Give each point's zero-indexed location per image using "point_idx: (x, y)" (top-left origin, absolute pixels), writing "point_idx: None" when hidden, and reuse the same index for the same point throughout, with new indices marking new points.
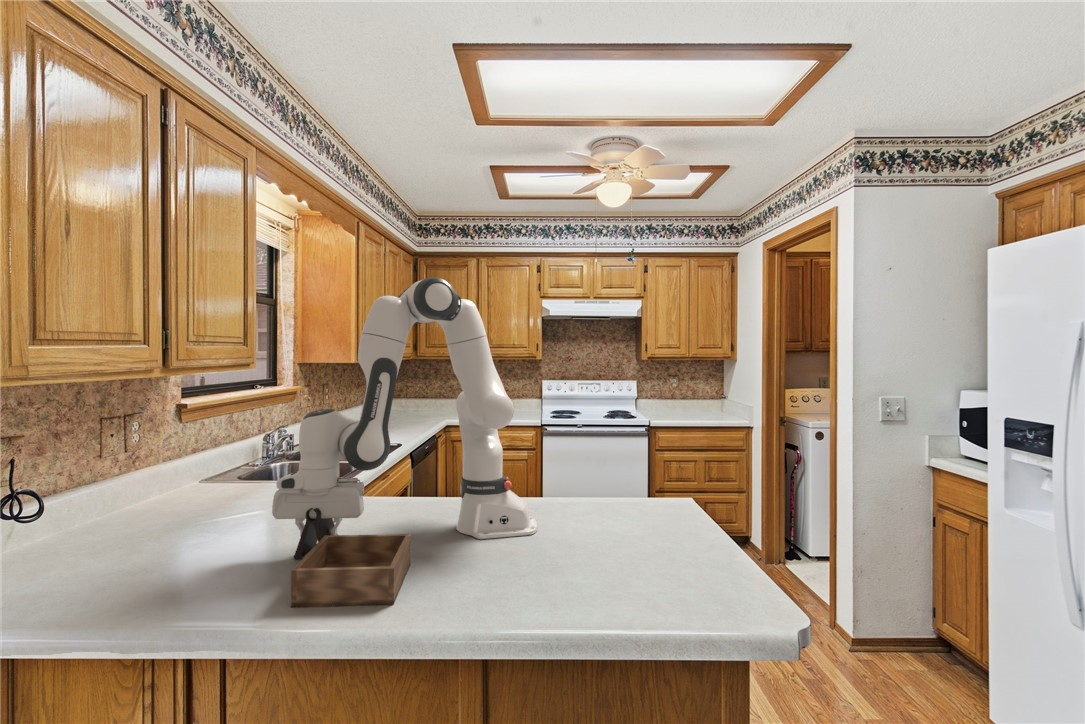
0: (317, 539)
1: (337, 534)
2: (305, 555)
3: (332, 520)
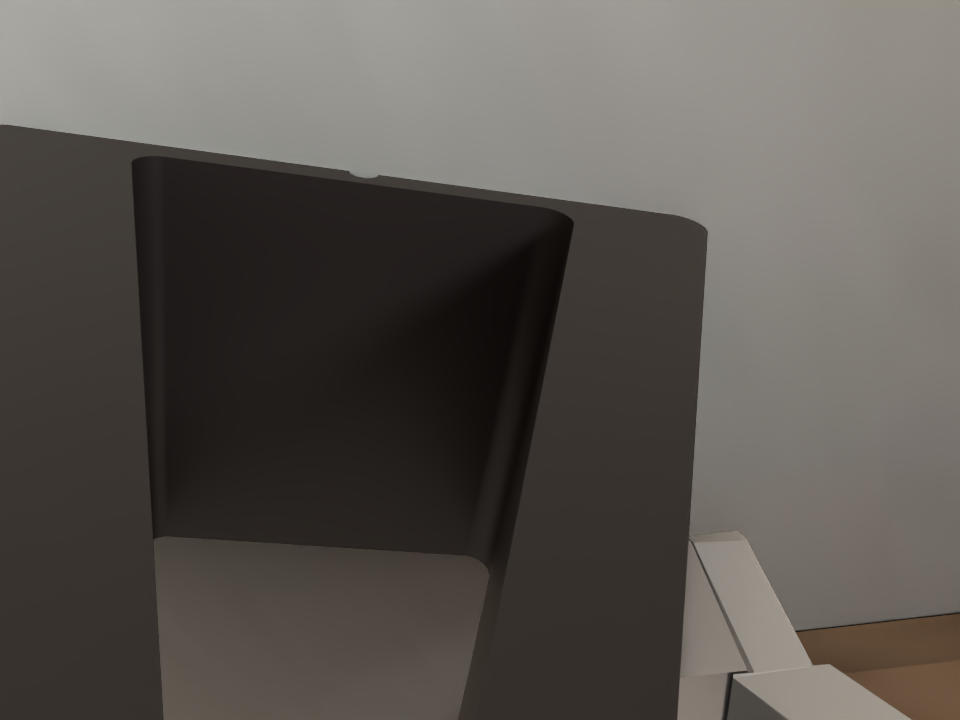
0: (133, 241)
1: (696, 383)
2: (154, 456)
3: (664, 706)
